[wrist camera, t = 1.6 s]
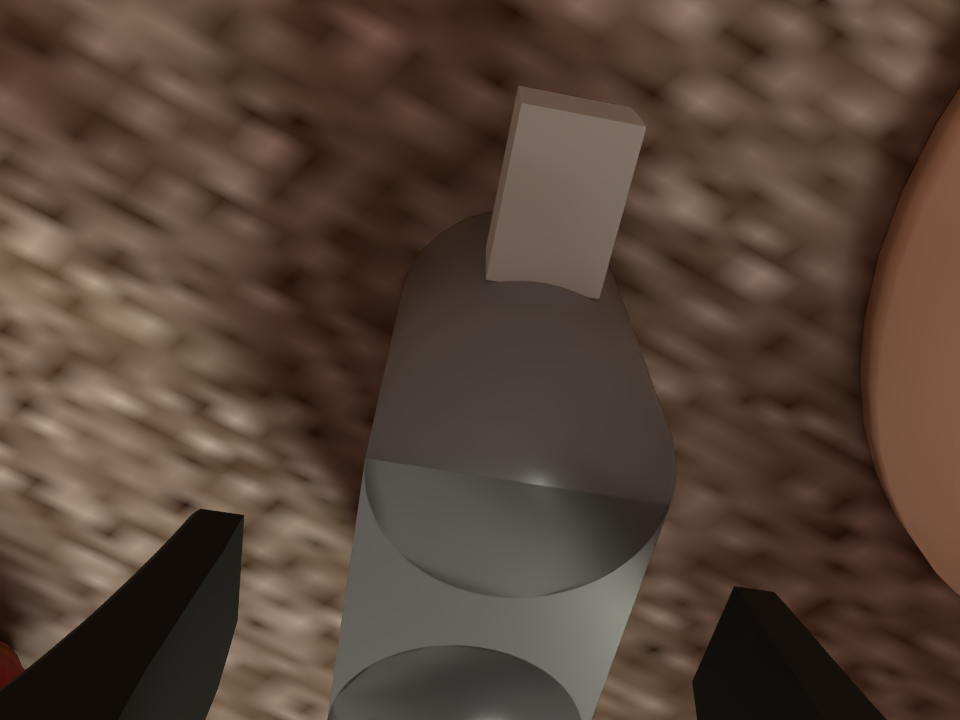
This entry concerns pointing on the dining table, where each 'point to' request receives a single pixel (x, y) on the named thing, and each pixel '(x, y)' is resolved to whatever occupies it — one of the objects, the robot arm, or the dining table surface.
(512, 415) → the connector
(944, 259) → the plate
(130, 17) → the dining table surface
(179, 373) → the dining table surface
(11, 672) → the onion
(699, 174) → the dining table surface
